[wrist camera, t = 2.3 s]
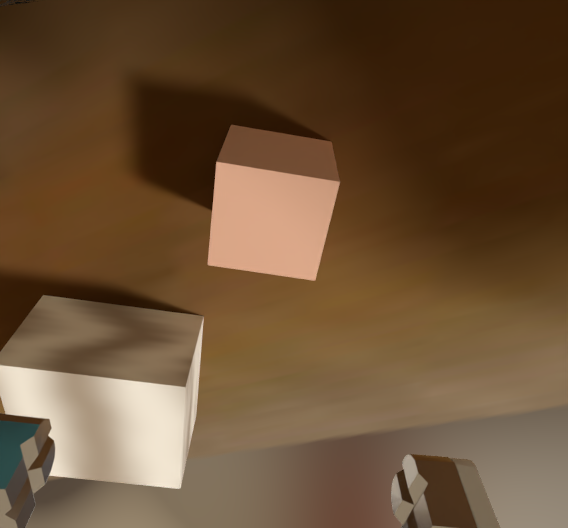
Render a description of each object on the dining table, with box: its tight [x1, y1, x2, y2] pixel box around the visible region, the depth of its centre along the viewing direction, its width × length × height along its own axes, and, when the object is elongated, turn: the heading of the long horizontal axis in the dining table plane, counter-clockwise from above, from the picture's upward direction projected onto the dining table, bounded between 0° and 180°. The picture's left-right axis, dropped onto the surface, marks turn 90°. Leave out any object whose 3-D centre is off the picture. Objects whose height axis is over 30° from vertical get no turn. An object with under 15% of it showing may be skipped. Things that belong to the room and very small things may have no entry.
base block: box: [0, 295, 204, 489], centre depth 29 cm, size 10×10×6 cm
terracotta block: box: [208, 125, 340, 281], centre depth 21 cm, size 5×5×5 cm
